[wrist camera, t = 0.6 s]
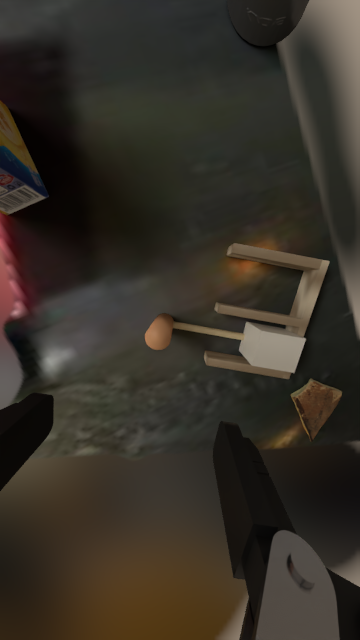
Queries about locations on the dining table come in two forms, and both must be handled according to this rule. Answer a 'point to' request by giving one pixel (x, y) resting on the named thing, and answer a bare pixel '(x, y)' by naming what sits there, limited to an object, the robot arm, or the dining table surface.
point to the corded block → (256, 342)
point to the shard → (315, 405)
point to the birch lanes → (293, 322)
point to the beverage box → (16, 168)
